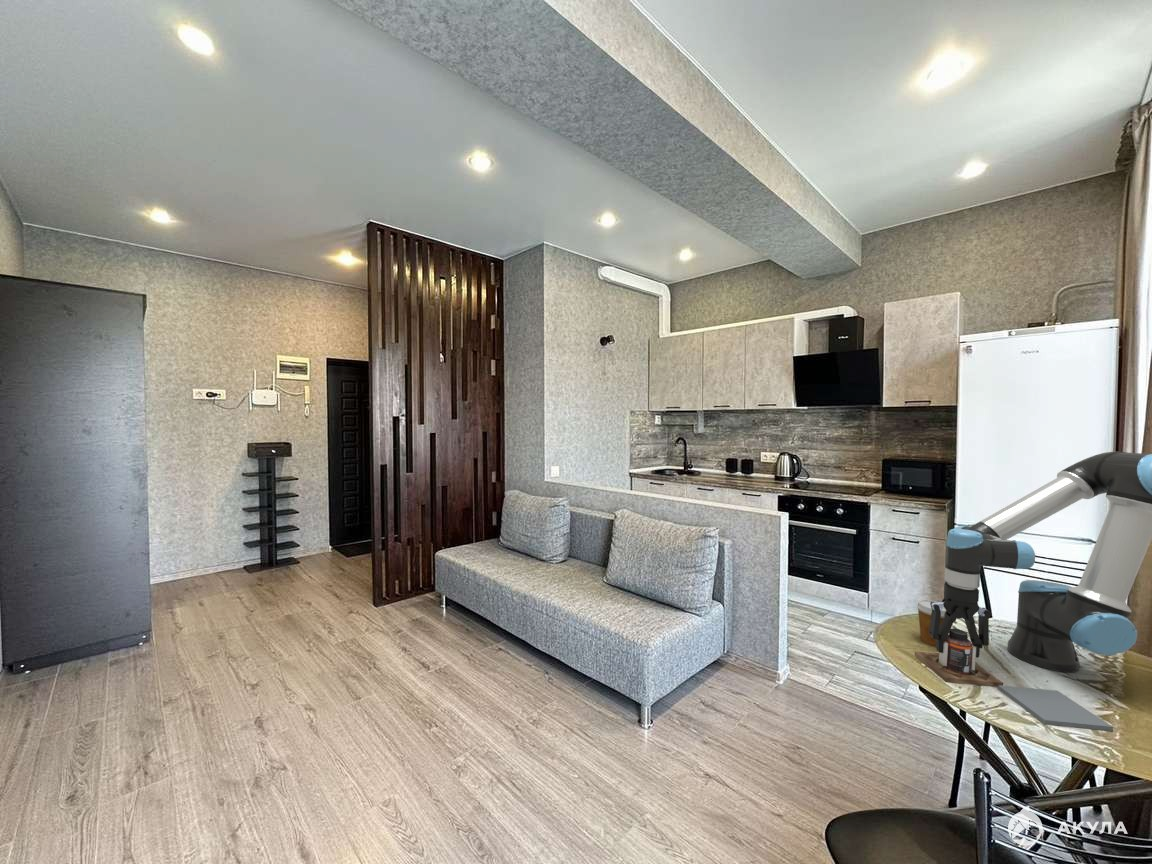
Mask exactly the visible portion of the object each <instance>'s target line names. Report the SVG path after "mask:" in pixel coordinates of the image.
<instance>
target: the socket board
mask: <svg viewBox="0 0 1152 864" xmlns="http://www.w3.org/2000/svg"><path fill="white" fill-rule="evenodd" d="M914 656H915V657H916V658H917V659H919V661H921V662H922V663H923V664H924V665H925V666H927V668H929V669H930V670H931V671H932V672H933V673H934V674H936V675H937V676H938V677H939V678H940V679H942V680H943V682H945V683H952V684H963V685H973V686H974V685H976V686H984V687H985V686H986V687H994V688H998V685H1002V686H1004V682H1003V681H1002V680H1000V679H999V678H997V677H996V676H995V675H994V674H992V673H991V672H989V671H988V670H986V669H985V668H984V667H982V666H981V665H980V664H978V663H977V662H975V670H971V671H972V672H973V673H975V675H970V674H969V675H962V674H958V673H955V672H953V671H950V670H947V669H945V668H944V666H942V665H940V664H939V652H928V651H927V652H926V651H914Z"/></svg>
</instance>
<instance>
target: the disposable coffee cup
mask: <svg viewBox="0 0 1152 864" xmlns="http://www.w3.org/2000/svg"><path fill="white" fill-rule="evenodd" d="M931 602H934V603H939V601H935V600H931V599H920V600H918V601H917V603H916V605H915V606H916V608H917V611H918V612H917V613H918V622H919V634H920V640H921V641H922V642H923V643H925V644H927V645H930V646H933V647H936V639H934V638H933V637H931V636H930V635H929V627H930V620H931V613H932V608H931V605H930V603H931ZM945 612H946V609H945V608H944V607H943V608H942V611H941V618H940V625H939V628H940V626H941V623H942V621H943V619H944V617H945V616H944V614H945Z"/></svg>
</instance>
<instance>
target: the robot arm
mask: <svg viewBox="0 0 1152 864" xmlns="http://www.w3.org/2000/svg"><path fill="white" fill-rule="evenodd" d="M1103 494H1105V497H1106V498H1107V500H1108V502H1109V503H1110V507H1109V509H1108V510H1107V511H1108V512H1107V513H1106V516H1105V519H1104V522H1103V524H1102V525H1101V528H1100V531H1099V533H1098V536H1097V538H1096V541H1095V544H1094V547H1093V549H1092V551H1091V554H1090V557H1089V558H1088V561H1087V563H1086V566H1085V568H1084V571H1083V573H1082V576H1081V579H1080V581H1079V583H1078V585H1077V586H1070V585H1068V584H1062V583H1057V582H1052V581H1045V580H1035V579H1025V580H1022V581H1021V582H1020V584H1019V587H1018V591H1017V593H1018V601H1017V602H1018V603H1017V615H1016V616H1017V617H1016V618H1017V619H1016V626H1015V629H1014V631H1013V632H1012V634H1011V637H1010V638H1009V639H1008V641H1007V647H1006V648H1007V649H1006V650H1007V651H1008V652H1009V653H1010V654H1011V655H1012V656H1014V657H1015V658H1017V659H1019V660H1021V661H1023V662H1026V663H1029V664H1031V665H1033V666H1037V667H1040V668H1043V669H1044V668H1045V669H1047V670H1052V671H1057V672H1063V673H1074V672H1078V671H1079V669H1080V659H1079V657H1078V654H1077V650H1076V648H1075V645H1076V646H1078V647H1080V648H1083V649H1086V650H1088V651H1090V652H1091V653H1095V654H1098V655H1102V656H1114V655H1117V654H1123V653H1125V652H1126V651H1128V650H1130V649H1131V648H1132V647H1133V646H1134V645H1135V643H1136V641H1137V639H1138V630H1137V629H1136V626H1135V625H1134V624H1133V621H1132V622H1131V620H1129V618H1130V616H1131V614H1132V610H1131V608H1130V607H1129V605H1128V604H1127V599H1128V597H1129V594H1130V592H1131V589H1132V587H1133V585H1134V582H1135V580H1136V577H1137V576H1138V573H1139V571H1140V567H1141V566H1142V564H1143V561H1144V558H1145V556H1146V553H1147V550H1148V548H1149V546H1150V544H1151V542H1152V453H1140V452H1139V453H1138V452H1126V451H1108V452H1102V453H1097V454H1095V455H1092V456H1090V457H1087V458H1084V459H1082V460H1080V461H1077V462H1075V463H1074V464H1071V465H1069V466H1067V467H1065V468H1064V469H1062V470H1060V471H1059V472H1057V474H1056V478H1054V479H1053V480H1051V481H1049V482H1047V483H1046V484H1043V485H1042V486H1040V487H1039V488H1037V489H1035V490H1034V491H1031V492H1029V493H1028V494H1026V495H1024V496H1023V497H1021V498H1019V499H1017V500H1016V501H1013V502H1012V503H1010V504H1009V505H1007V506H1005V507H1003V508H1001V509H999V510H998V511H996V512H993V514H991V515H989V516H988V517H985V518H983V519H982V520H980V521H978V522H977V523H974V524H973V525H970V526H968V525H959V526H956V527H954V528H952V529H949V530H948V533H947V536H946V537H947V538H946V542H945V546H946V549H945V551H946V552H945V569H944V581H945V582H944V585H943V598H942V599H941V602H939V601H938V602H939V603H934V602H931V603H930V605H931V608H932V613H931V620H930V627H929V635H930V636H931V637H933V638H934V639H936V646H935V649H936V651H937V653H939V661H938V663H940V664H941V666H942V667H944V666H947V653H948V643H947V642H946V641H945V640H946V638H947V636H948V635H949V631H950V629H951V628H953V627H952V626H953V624H954V623H955V622H956V621H957V619H961V620H962V619H963V621H964V623H965V625H966V626H965V627H966V629H967V633H968V637H969V639H970V640H969V641H970V642H971V644H972V650H971V666H970V671H972V670H975V663H976V659H978V658H979V657H980V649H983V646H985V647H988V646H989V645H990V634H989V633H990V632H989V631H990V627H989V626H990V622H989V620H990V618H991V615H992V612H991V611H990V610H988V609H987V608H985V607H982V606H981V607H980V606H979V600H980V598H979V595H980V590H979V588H980V581H981V569H982V567H989V568H1002V569H1013V570H1028V569H1031V568H1032V567H1033V566H1034V565H1035V562H1036V553H1035V552H1036V551H1034V548H1033V547H1032V545H1030V544H1029V543H1028V542H1025V541H1021V540H1016V539H1013V540H1012V539H1011V538H1013V537H1014V536H1017V535H1018V534H1020V533H1022V532H1023V531H1025V530H1027V529H1029V528H1032V527H1033V526H1034V525H1036V524H1038V523H1040V522H1042V521H1043V520H1046V519H1047V518H1048V519H1049V518H1050V517H1051V516H1053V515H1055V514H1057V513H1059V512H1060V511H1062V510H1064V509H1066V508H1067V507H1070V506H1072V505H1074V504H1076V503H1077V502H1079V501H1081V500H1083V499H1084V500H1091V499H1093V498H1095V497H1096V496H1099V495H1103ZM1010 539H1011V540H1010ZM943 607H944V608H945V609H946V612H945V614H944V616H945V617H944V619H943V621H942V623H941V626H940V628H939V625H940V618H941V611H942V608H943ZM976 614H978V617H977V619H978V623H977V624H978V626H976V625H975V623H976V622H975V617H974V615H976ZM977 627H978V631H977ZM1074 644H1075V645H1074Z"/></svg>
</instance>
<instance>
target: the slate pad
mask: <svg viewBox="0 0 1152 864" xmlns="http://www.w3.org/2000/svg"><path fill="white" fill-rule="evenodd" d="M997 689H998V690H999V691H1000V692H1001V693H1003V694H1004V695H1006V696H1007V697H1008V698H1009V699H1011V700H1012V701H1014V702H1015V703H1016V704H1017V705H1018V706H1020V707H1021V708H1022V709H1024V710H1025V711H1027V712H1028V713H1029V714H1030V715H1032V717H1034V718H1036V719H1037V720H1038V721H1040V722H1041V723H1043V724H1044V725H1050V726H1059V727H1069V728H1080V729H1088V730H1098V731H1108V732H1109V731H1110V732H1113V731H1114V726H1113V725H1111V724H1109V723H1108V722H1106V721H1105V720H1104V719H1102V718H1100V717H1098V716H1097V715H1096V714H1094V713H1093V712H1091V711H1090V710H1088V709H1086V708H1085V707H1084V706H1082V705H1081V704H1079V703H1078V702H1076V701H1075V700H1072V699H1071V698H1070V697H1068V696H1066V695H1065V694H1064V693H1062V692H1061V691H1059V690H1055V689H1054V690H1053V689H1041V688H1031V687H1023V686H1022V687H1021V686H1010V685H1003V686H1002V685H998V687H997Z"/></svg>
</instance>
